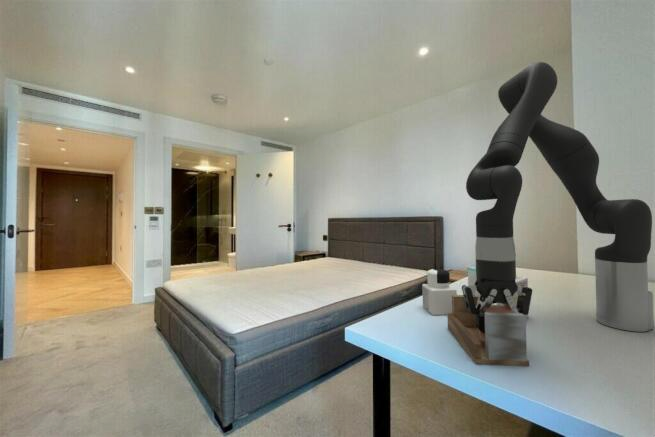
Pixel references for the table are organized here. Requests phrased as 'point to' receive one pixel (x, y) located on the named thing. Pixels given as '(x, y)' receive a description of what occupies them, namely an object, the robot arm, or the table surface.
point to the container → (438, 292)
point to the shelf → (489, 335)
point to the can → (472, 277)
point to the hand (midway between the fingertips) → (496, 332)
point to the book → (497, 310)
